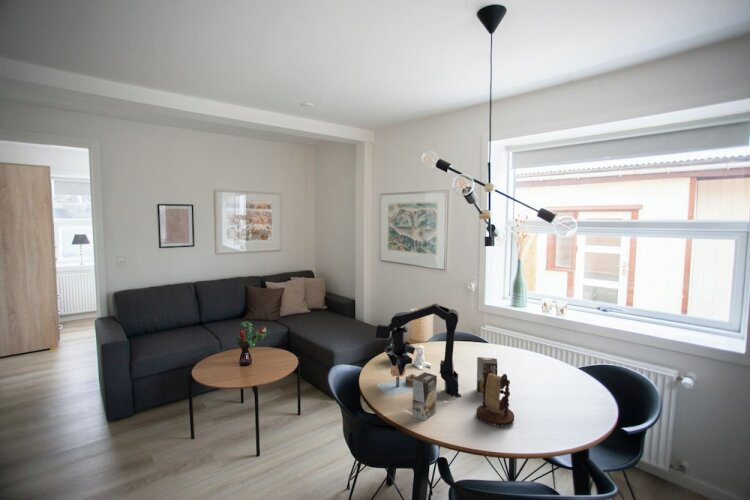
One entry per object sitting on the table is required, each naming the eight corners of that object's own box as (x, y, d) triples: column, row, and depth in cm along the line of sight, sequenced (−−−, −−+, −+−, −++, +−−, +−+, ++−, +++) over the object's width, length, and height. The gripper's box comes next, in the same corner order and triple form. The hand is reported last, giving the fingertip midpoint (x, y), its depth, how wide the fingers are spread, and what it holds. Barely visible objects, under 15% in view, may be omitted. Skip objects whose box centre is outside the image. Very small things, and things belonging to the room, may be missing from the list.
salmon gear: (407, 375, 175) (407, 369, 174) (394, 378, 172) (394, 371, 172) (401, 370, 181) (401, 364, 181) (388, 372, 178) (388, 366, 178)
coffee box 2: (496, 391, 174) (497, 358, 173) (497, 397, 168) (498, 363, 167) (476, 389, 177) (477, 356, 175) (476, 395, 171) (477, 361, 169)
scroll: (469, 418, 151) (470, 371, 149) (487, 405, 161) (488, 361, 159) (503, 433, 140) (505, 383, 139) (520, 418, 151) (522, 371, 149)
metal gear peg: (399, 387, 177) (399, 377, 176) (396, 387, 176) (396, 378, 176) (398, 385, 178) (398, 376, 178) (395, 386, 178) (395, 377, 177)
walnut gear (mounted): (422, 383, 180) (422, 374, 180) (413, 388, 175) (413, 379, 175) (411, 379, 185) (411, 370, 184) (402, 383, 180) (402, 374, 180)
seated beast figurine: (420, 372, 196) (420, 350, 195) (408, 367, 203) (409, 346, 202) (432, 367, 202) (432, 346, 201) (420, 362, 209) (421, 342, 208)
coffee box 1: (425, 421, 149) (425, 383, 147) (411, 416, 153) (412, 378, 151) (436, 412, 156) (437, 375, 154) (423, 407, 160) (424, 371, 159)
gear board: (428, 389, 177) (428, 387, 177) (386, 397, 169) (386, 395, 169) (416, 378, 188) (416, 377, 188) (376, 386, 180) (376, 384, 180)
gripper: (422, 344, 170) (422, 376, 171) (404, 332, 187) (404, 362, 188) (400, 347, 165) (400, 381, 167) (384, 335, 183) (384, 365, 184)
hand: (397, 371), depth 177 cm, fingers closed on salmon gear, 7 cm apart
